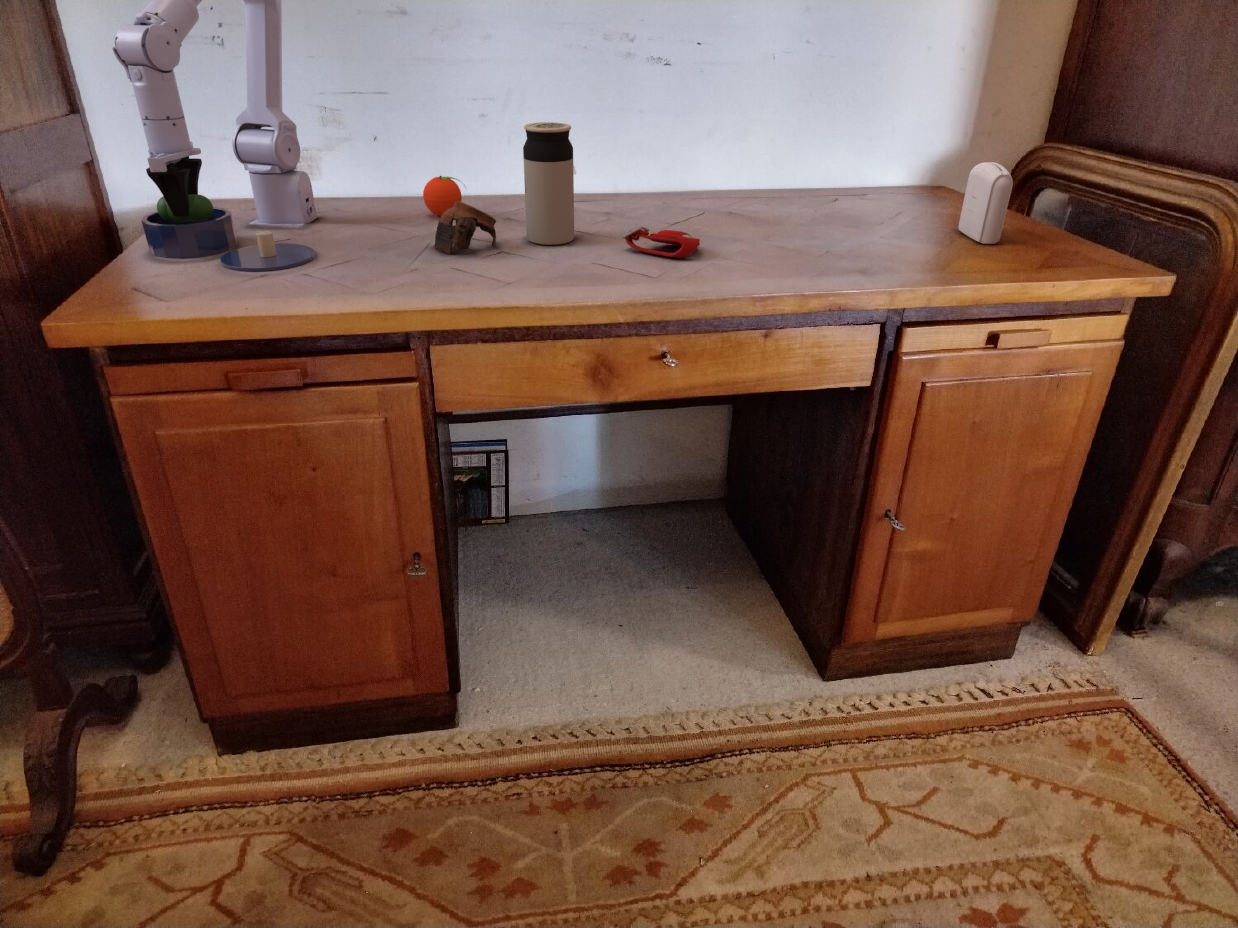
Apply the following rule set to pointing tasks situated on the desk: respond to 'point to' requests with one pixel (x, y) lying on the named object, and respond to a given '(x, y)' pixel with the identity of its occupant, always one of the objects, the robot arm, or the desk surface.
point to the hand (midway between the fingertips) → (186, 212)
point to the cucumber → (197, 210)
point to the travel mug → (549, 183)
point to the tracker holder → (664, 241)
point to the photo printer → (986, 202)
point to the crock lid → (267, 255)
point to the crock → (190, 235)
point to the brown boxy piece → (462, 227)
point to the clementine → (441, 194)
